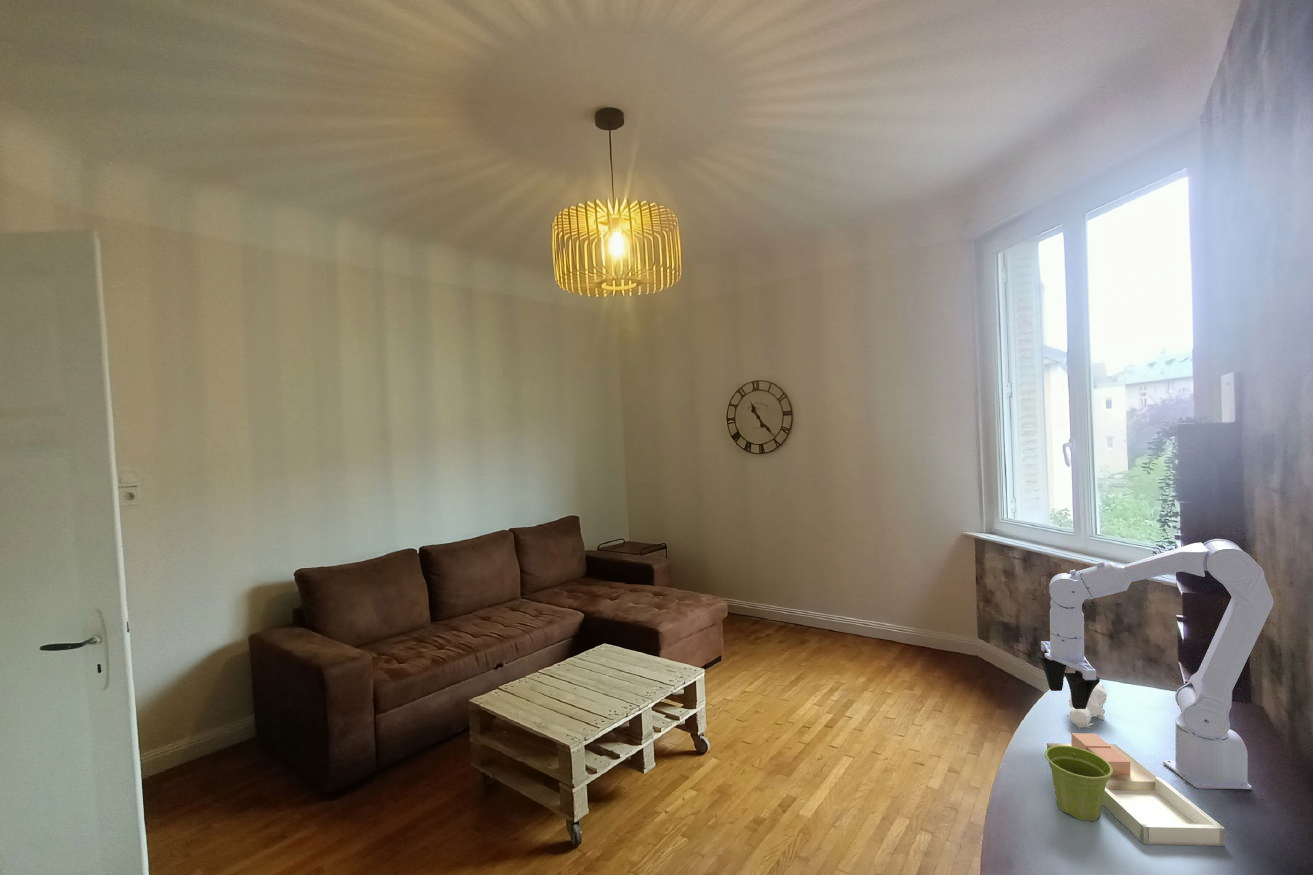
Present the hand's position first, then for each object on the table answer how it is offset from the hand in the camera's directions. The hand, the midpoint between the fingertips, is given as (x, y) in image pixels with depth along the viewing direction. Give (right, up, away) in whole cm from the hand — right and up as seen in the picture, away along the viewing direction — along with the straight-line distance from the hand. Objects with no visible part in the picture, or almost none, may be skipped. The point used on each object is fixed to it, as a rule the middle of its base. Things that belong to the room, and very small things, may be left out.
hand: (1067, 698), depth 120 cm
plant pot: (-12, -11, -19) cm, 25 cm away
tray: (-1, -10, -22) cm, 24 cm away
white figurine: (+10, -9, +9) cm, 16 cm away
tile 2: (0, -8, -11) cm, 14 cm away
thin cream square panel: (0, -10, -9) cm, 13 cm away
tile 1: (0, -8, -6) cm, 10 cm away
